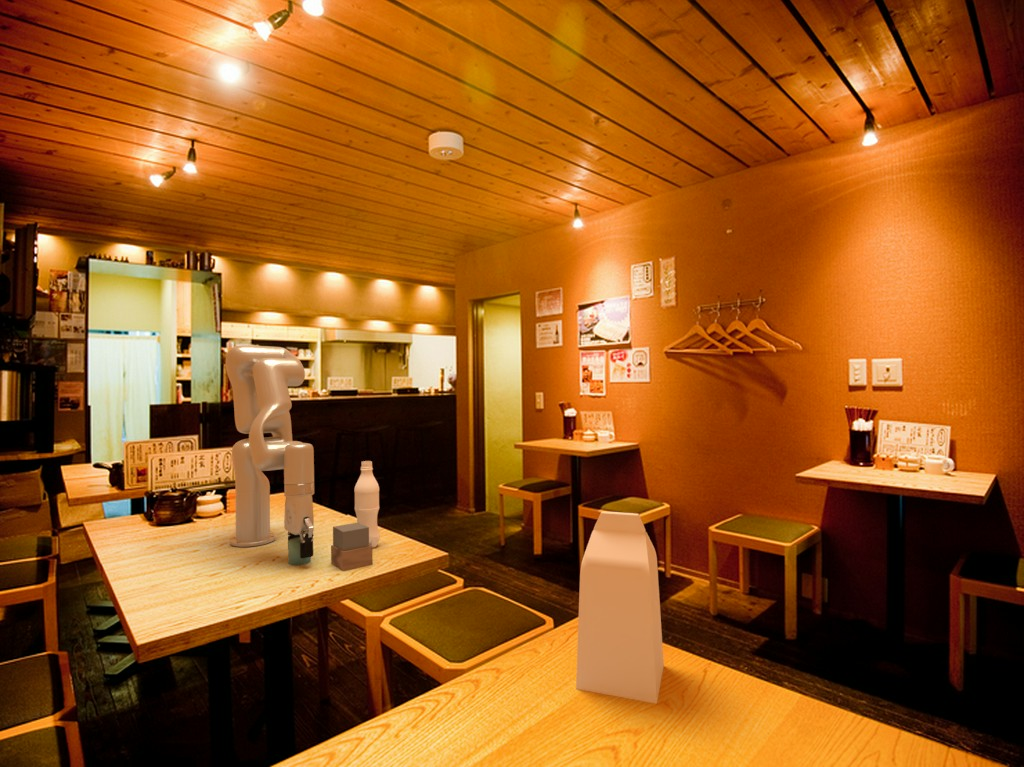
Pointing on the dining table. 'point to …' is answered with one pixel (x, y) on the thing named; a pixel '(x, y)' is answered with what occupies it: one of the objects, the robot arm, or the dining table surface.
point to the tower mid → (350, 536)
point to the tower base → (351, 558)
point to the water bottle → (367, 501)
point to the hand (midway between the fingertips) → (300, 553)
